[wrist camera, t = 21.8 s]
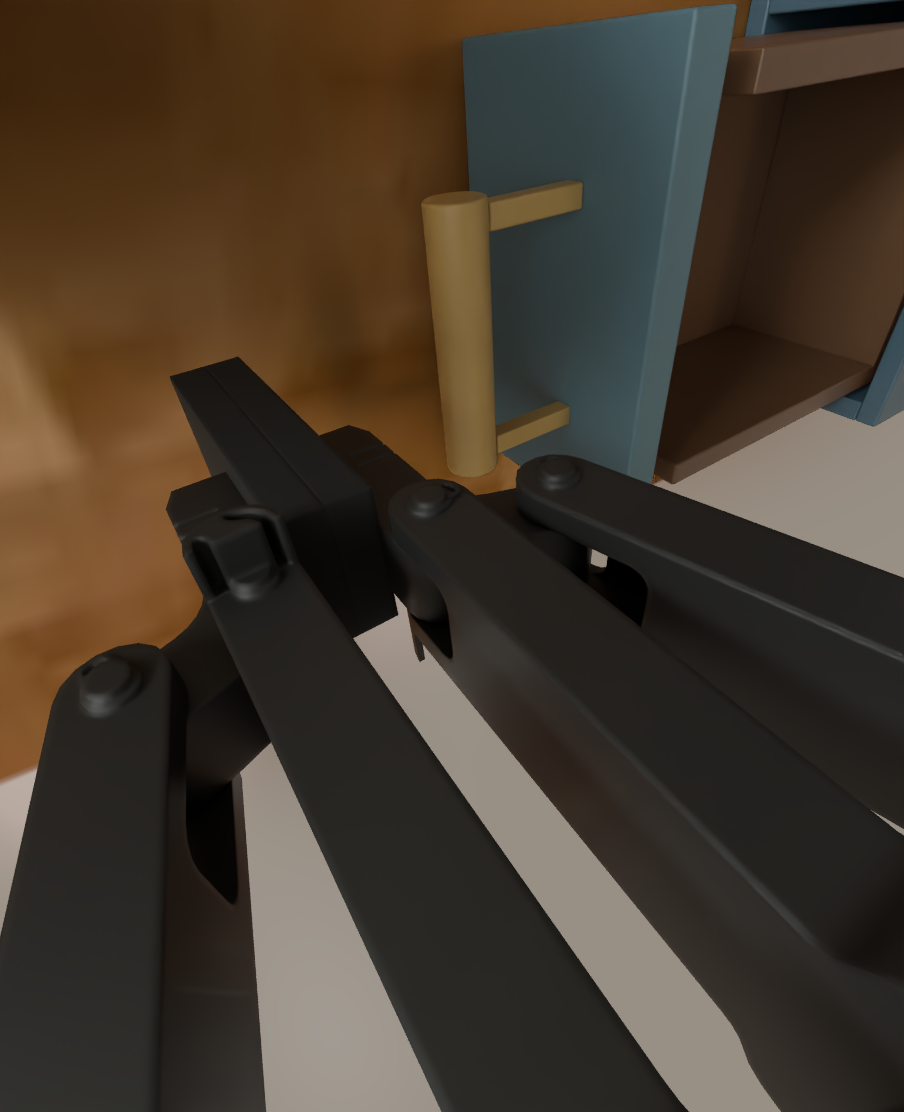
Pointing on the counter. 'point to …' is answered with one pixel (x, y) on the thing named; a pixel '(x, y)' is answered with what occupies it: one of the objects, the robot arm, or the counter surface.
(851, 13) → the cabinet
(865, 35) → the drawer
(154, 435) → the counter surface
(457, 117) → the counter surface
